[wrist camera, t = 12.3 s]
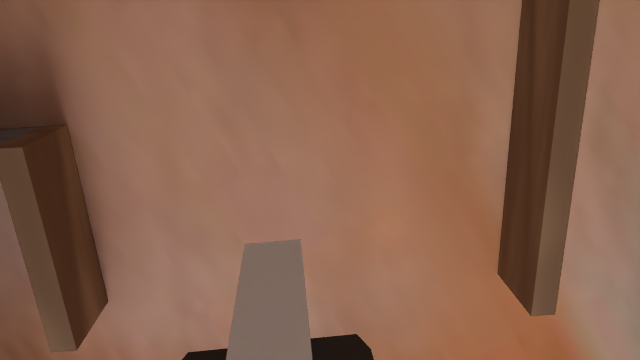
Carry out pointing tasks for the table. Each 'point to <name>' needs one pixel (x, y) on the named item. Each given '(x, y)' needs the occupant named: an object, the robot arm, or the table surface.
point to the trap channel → (519, 204)
